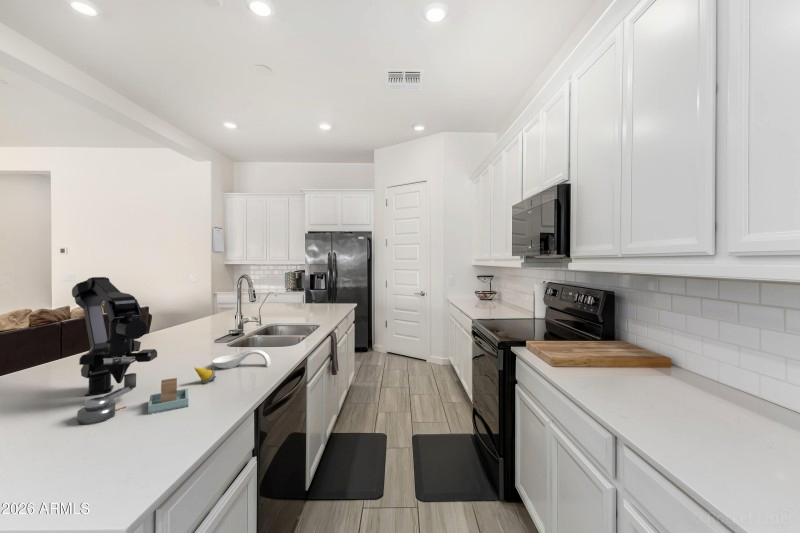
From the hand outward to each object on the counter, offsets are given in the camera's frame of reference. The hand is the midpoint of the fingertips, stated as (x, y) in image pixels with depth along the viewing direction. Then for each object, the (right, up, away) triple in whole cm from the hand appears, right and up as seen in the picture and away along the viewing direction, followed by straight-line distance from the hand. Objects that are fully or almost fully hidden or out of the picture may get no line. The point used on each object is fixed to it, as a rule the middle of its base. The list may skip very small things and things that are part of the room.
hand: (119, 383), depth 105 cm
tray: (+17, -6, -2) cm, 18 cm away
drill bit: (+18, -6, +17) cm, 25 cm away
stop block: (+17, -6, -2) cm, 18 cm away
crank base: (+4, -6, -10) cm, 13 cm away
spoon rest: (+21, -7, +37) cm, 44 cm away
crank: (+3, -3, -6) cm, 7 cm away
